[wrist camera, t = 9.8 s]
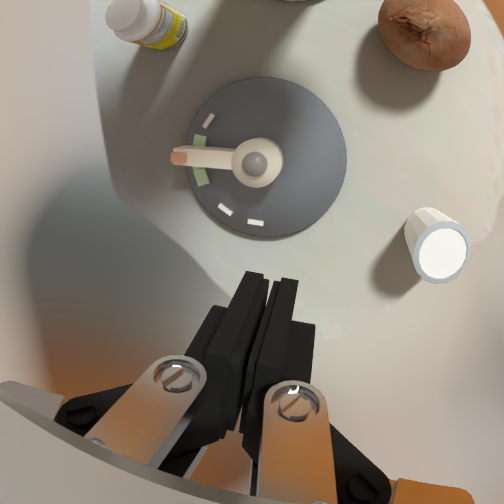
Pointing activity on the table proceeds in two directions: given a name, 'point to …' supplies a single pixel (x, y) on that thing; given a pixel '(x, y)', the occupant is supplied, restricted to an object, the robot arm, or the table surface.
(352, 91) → the table surface
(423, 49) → the onion
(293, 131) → the dial
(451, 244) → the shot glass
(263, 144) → the lever
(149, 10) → the supplement bottle
